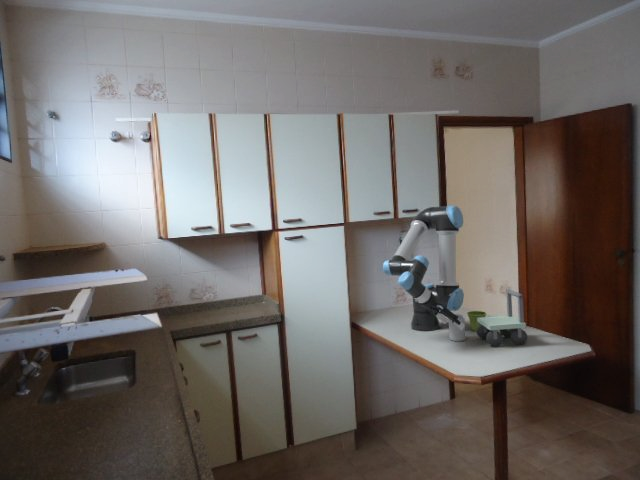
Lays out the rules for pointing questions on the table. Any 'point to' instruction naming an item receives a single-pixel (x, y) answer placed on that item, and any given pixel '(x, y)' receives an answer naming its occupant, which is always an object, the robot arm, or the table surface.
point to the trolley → (504, 324)
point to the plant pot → (475, 318)
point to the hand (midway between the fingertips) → (454, 324)
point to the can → (457, 330)
